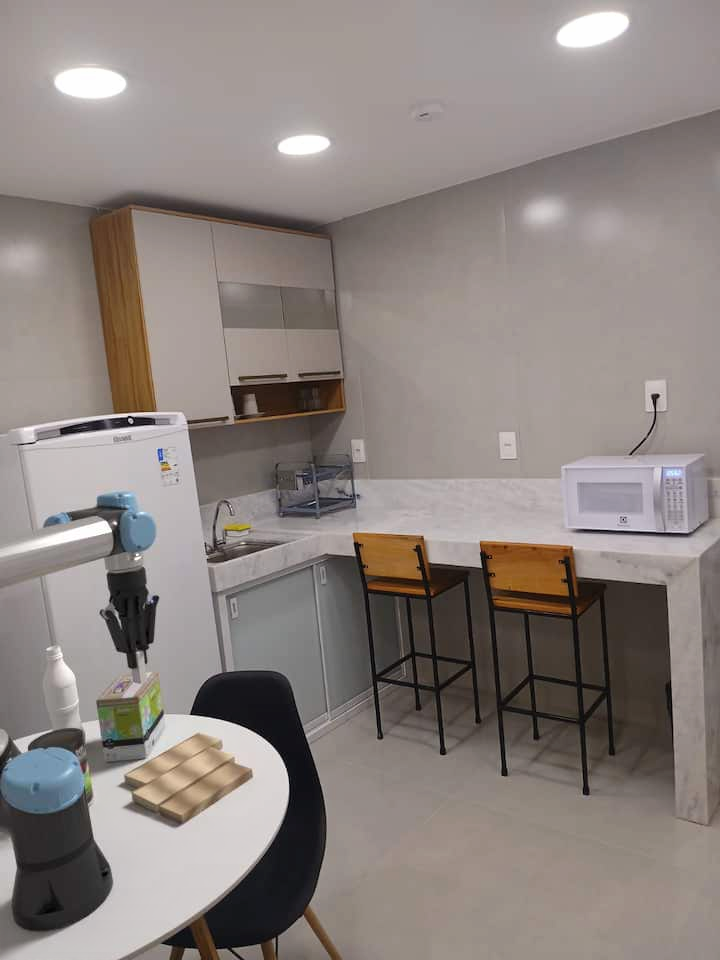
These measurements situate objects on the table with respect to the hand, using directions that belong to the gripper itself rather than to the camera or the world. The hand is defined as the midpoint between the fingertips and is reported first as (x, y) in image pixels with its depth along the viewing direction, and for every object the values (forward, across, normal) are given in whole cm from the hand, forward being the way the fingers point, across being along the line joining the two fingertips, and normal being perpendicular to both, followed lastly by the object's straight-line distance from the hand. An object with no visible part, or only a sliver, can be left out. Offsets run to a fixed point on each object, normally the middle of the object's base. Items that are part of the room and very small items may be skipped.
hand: (140, 681), depth 151 cm
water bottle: (+22, +1, +31) cm, 38 cm away
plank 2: (+21, +3, -7) cm, 22 cm away
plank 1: (+21, +7, +2) cm, 23 cm away
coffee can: (+22, -14, +10) cm, 28 cm away
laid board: (+22, +2, -15) cm, 26 cm away
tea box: (+22, +10, +18) cm, 30 cm away
